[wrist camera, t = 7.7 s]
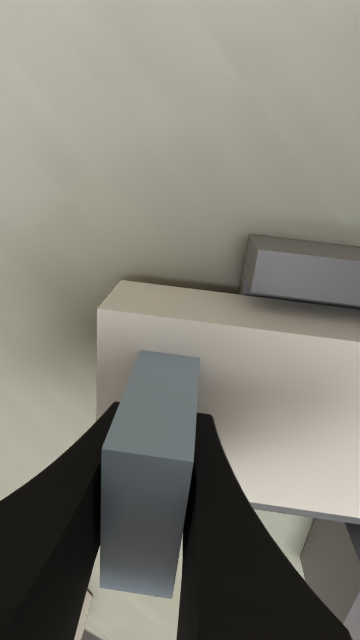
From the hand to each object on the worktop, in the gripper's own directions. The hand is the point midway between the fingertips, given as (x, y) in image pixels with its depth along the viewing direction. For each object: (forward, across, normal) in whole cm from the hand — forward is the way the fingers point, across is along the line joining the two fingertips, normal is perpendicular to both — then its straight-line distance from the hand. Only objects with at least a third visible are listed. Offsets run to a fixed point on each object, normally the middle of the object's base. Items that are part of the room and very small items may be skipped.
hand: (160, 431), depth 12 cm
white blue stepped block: (+4, -3, 0) cm, 5 cm away
